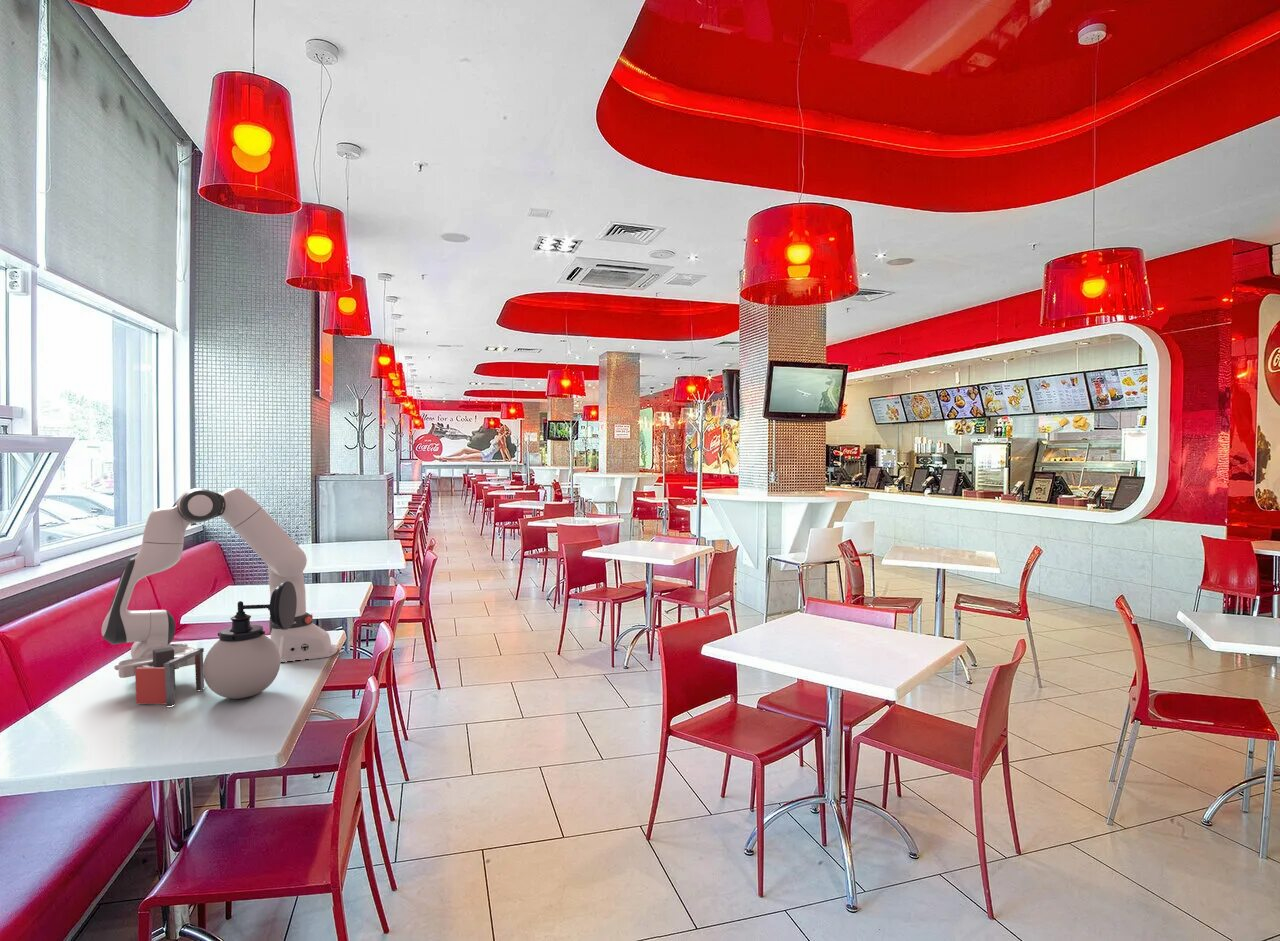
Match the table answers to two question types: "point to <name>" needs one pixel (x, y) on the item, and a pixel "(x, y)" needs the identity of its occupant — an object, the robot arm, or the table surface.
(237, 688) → the light fixture
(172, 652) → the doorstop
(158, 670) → the red square panel
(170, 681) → the frame
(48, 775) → the table surface
